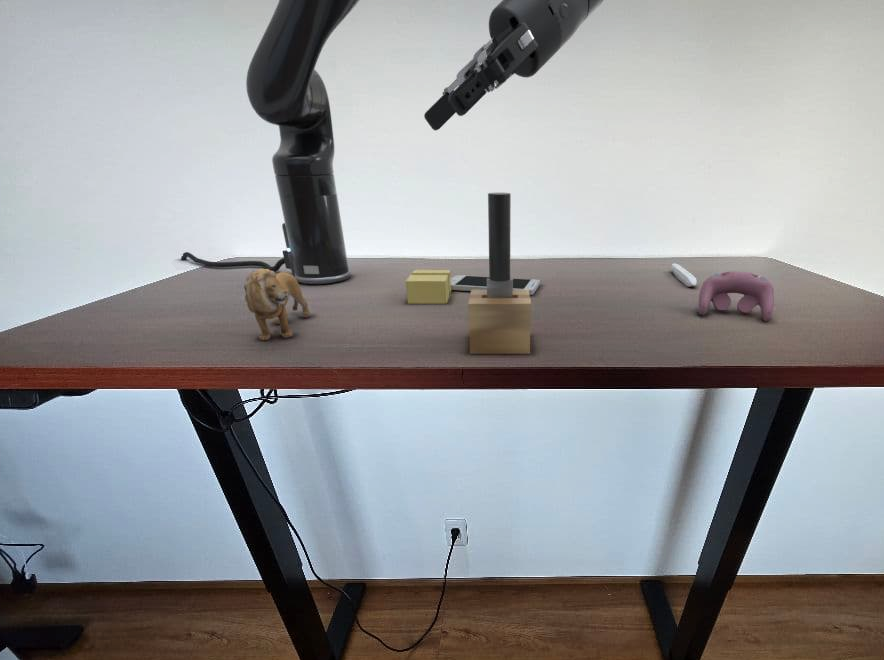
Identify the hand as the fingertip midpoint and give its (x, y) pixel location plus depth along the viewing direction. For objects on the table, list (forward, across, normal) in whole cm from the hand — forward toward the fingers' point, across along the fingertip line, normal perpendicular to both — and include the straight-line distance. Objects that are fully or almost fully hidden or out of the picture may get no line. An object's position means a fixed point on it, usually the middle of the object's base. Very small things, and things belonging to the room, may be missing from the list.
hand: (441, 116), depth 53 cm
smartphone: (+3, -19, +26) cm, 32 cm away
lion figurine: (+30, -11, +6) cm, 33 cm away
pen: (-23, -10, +48) cm, 54 cm away
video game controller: (-14, +9, +44) cm, 47 cm away
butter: (+12, -19, +19) cm, 29 cm away
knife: (+13, +6, +22) cm, 26 cm away
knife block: (+13, +6, +22) cm, 26 cm away
